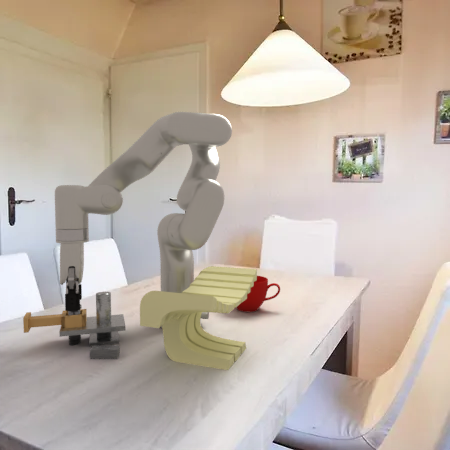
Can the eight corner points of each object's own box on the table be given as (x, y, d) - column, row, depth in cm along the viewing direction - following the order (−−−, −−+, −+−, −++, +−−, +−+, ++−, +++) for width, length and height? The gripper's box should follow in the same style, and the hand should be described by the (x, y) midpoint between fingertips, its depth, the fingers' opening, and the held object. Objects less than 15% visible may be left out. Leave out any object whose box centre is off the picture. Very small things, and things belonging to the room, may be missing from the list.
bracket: (86, 321, 102) (86, 307, 102) (86, 328, 97) (85, 313, 97) (27, 326, 98) (26, 311, 98) (23, 333, 93) (22, 318, 92)
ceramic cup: (278, 317, 121) (279, 284, 120) (224, 313, 124) (224, 282, 124) (281, 305, 134) (281, 276, 133) (231, 302, 137) (231, 274, 136)
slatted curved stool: (200, 329, 109) (200, 265, 108) (256, 336, 104) (256, 269, 103) (140, 375, 81) (139, 289, 80) (212, 388, 76) (213, 296, 75)
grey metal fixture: (123, 331, 107) (122, 287, 106) (125, 344, 98) (125, 296, 97) (63, 337, 103) (62, 291, 102) (59, 351, 93) (58, 301, 92)
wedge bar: (119, 355, 92) (119, 345, 92) (117, 360, 89) (117, 349, 89) (93, 355, 92) (93, 345, 92) (90, 360, 89) (90, 349, 89)
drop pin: (84, 340, 100) (83, 304, 100) (78, 345, 97) (77, 307, 96) (72, 340, 101) (71, 303, 100) (64, 345, 97) (64, 307, 97)
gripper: (59, 233, 104) (60, 297, 105) (51, 240, 88) (53, 316, 89) (89, 232, 106) (90, 295, 108) (87, 239, 90) (89, 313, 91)
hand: (74, 304), depth 98 cm, fingers open, 9 cm apart
